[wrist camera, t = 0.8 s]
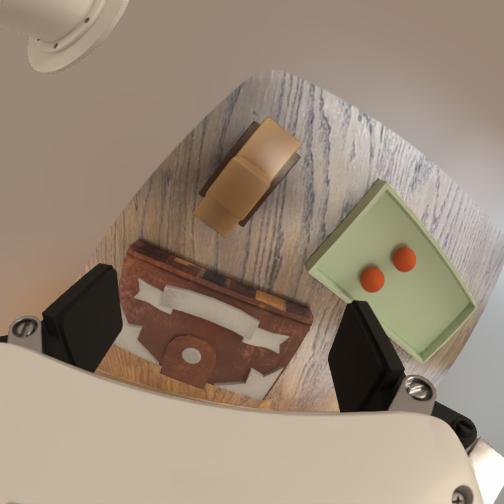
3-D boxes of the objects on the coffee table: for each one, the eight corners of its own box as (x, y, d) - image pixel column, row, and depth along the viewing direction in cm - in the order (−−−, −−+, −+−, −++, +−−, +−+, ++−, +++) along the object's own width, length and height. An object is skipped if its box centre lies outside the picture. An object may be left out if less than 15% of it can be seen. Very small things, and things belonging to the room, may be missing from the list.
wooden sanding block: (202, 205, 24) (165, 238, 15) (267, 121, 21) (268, 100, 12) (231, 226, 24) (211, 271, 15) (297, 144, 21) (319, 140, 12)
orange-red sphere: (352, 276, 31) (359, 288, 28) (369, 258, 30) (378, 268, 28) (367, 289, 32) (375, 301, 29) (383, 272, 31) (393, 283, 28)
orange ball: (384, 256, 30) (394, 266, 27) (400, 238, 29) (411, 247, 26) (398, 270, 31) (408, 281, 28) (413, 253, 30) (424, 262, 27)
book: (308, 304, 34) (316, 324, 30) (261, 384, 38) (261, 407, 34) (141, 237, 32) (124, 248, 27) (120, 331, 36) (106, 349, 31)
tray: (304, 263, 32) (307, 272, 29) (378, 178, 28) (386, 181, 25) (417, 355, 37) (422, 364, 34) (471, 299, 33) (478, 306, 30)
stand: (211, 185, 29) (198, 193, 23) (256, 127, 26) (254, 120, 21) (247, 212, 30) (243, 227, 24) (293, 156, 27) (301, 157, 22)
